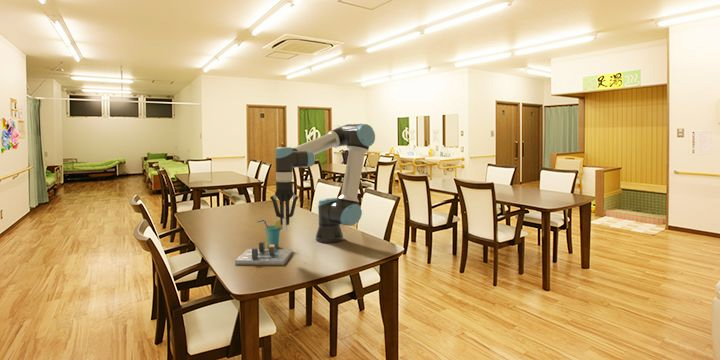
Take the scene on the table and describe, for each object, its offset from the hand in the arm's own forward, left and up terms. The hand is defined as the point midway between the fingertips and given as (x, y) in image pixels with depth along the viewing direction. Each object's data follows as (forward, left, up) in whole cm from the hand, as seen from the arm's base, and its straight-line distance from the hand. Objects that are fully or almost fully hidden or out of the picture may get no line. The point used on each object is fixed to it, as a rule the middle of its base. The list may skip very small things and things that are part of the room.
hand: (285, 231), depth 184 cm
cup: (+12, -19, -13) cm, 26 cm away
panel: (+10, 0, -13) cm, 16 cm away
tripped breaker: (+6, 0, -11) cm, 12 cm away
